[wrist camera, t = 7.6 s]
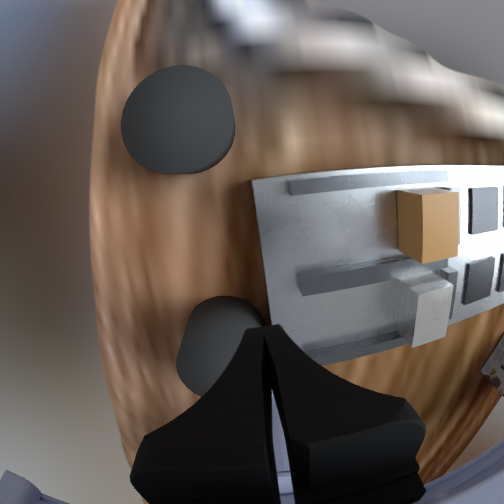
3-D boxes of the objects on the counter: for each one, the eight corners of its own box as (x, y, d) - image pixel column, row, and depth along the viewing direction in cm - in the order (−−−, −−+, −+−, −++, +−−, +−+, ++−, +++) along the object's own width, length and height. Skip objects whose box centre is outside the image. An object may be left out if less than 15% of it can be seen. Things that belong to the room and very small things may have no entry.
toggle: (398, 250, 18) (422, 263, 15) (396, 190, 17) (421, 194, 14) (432, 244, 18) (457, 256, 15) (431, 187, 17) (458, 191, 14)
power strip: (273, 345, 23) (282, 395, 17) (250, 179, 19) (254, 181, 13) (501, 286, 23) (537, 307, 17) (508, 165, 19) (550, 170, 13)
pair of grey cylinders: (197, 364, 23) (189, 404, 18) (144, 100, 17) (117, 81, 13) (268, 355, 23) (274, 396, 18) (228, 82, 17) (224, 56, 13)
